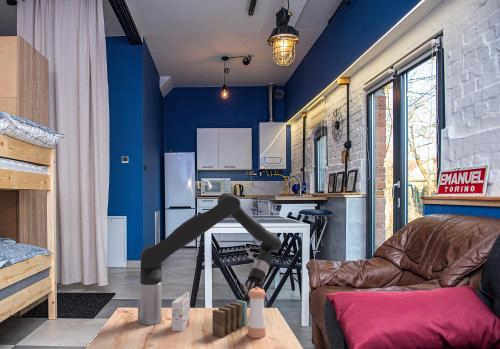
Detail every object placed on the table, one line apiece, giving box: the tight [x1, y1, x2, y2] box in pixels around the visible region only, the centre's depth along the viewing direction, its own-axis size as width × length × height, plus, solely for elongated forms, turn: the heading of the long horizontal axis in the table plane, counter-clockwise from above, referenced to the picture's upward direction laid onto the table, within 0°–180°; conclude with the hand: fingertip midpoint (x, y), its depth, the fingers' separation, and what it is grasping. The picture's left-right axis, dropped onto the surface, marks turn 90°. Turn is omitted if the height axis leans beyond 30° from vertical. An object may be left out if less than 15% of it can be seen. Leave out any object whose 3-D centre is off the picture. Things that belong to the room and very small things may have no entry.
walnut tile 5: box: [211, 309, 226, 339], centre depth 154 cm, size 2×5×10 cm, turn 57°
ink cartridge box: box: [171, 290, 191, 332], centre depth 163 cm, size 9×5×15 cm, turn 168°
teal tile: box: [234, 299, 248, 327], centre depth 167 cm, size 2×5×10 cm, turn 57°
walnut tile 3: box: [223, 304, 237, 333], centre depth 160 cm, size 2×5×10 cm, turn 57°
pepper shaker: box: [247, 287, 267, 339], centre depth 155 cm, size 7×7×19 cm
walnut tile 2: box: [229, 301, 243, 330], centre depth 164 cm, size 2×5×10 cm, turn 57°
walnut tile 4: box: [218, 306, 231, 336], centre depth 157 cm, size 2×5×10 cm, turn 57°
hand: (244, 304), depth 169 cm, fingers closed
